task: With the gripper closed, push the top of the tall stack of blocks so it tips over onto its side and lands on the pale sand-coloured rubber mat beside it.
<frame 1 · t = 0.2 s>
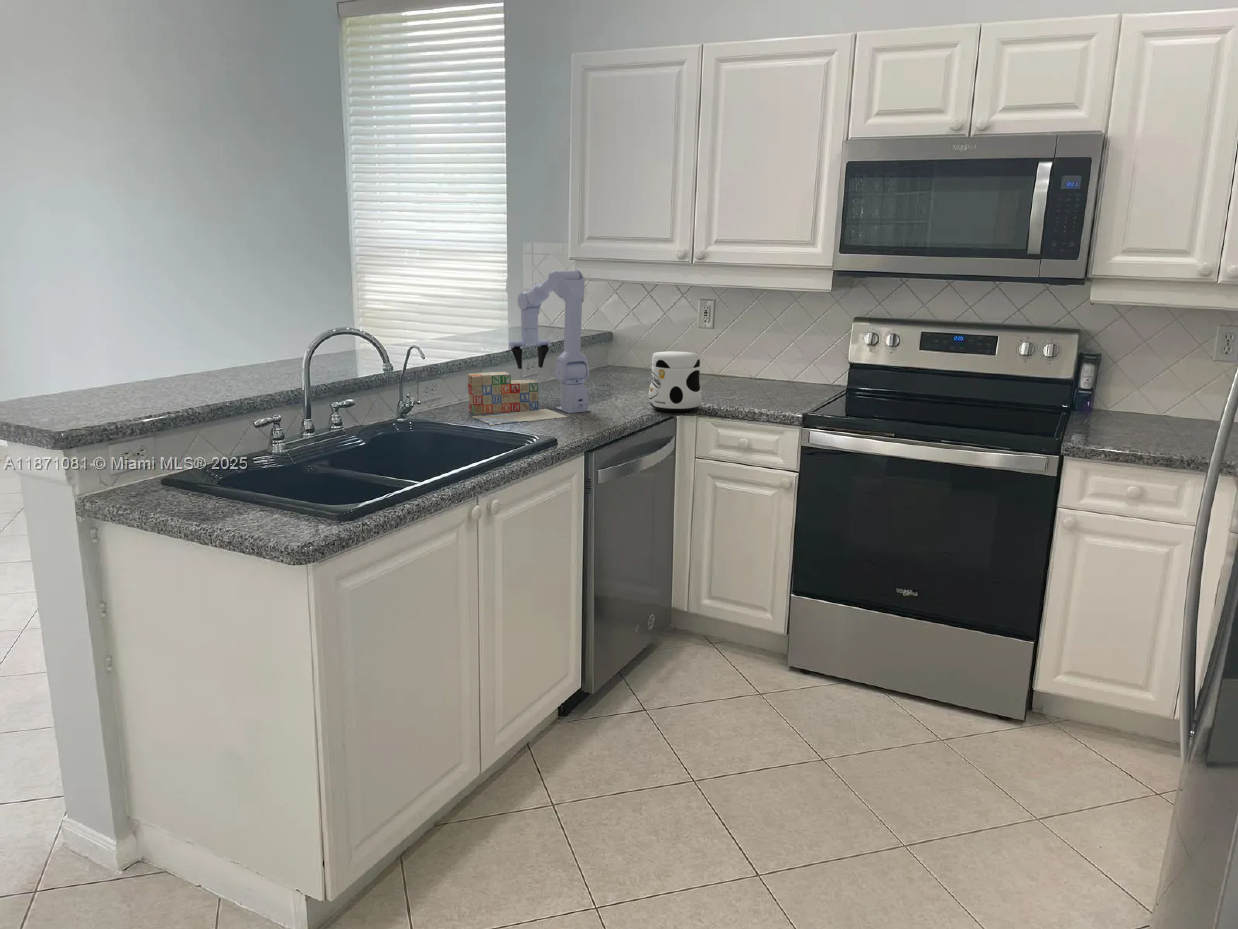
hand: (530, 367, 310), 10 cm above the countertop, tool pointing down, fingers open, 7 cm apart
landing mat: (519, 417, 279), on the countertop
milk container: (674, 409, 294), on the countertop
stack of blocks: (503, 411, 289), on the countertop
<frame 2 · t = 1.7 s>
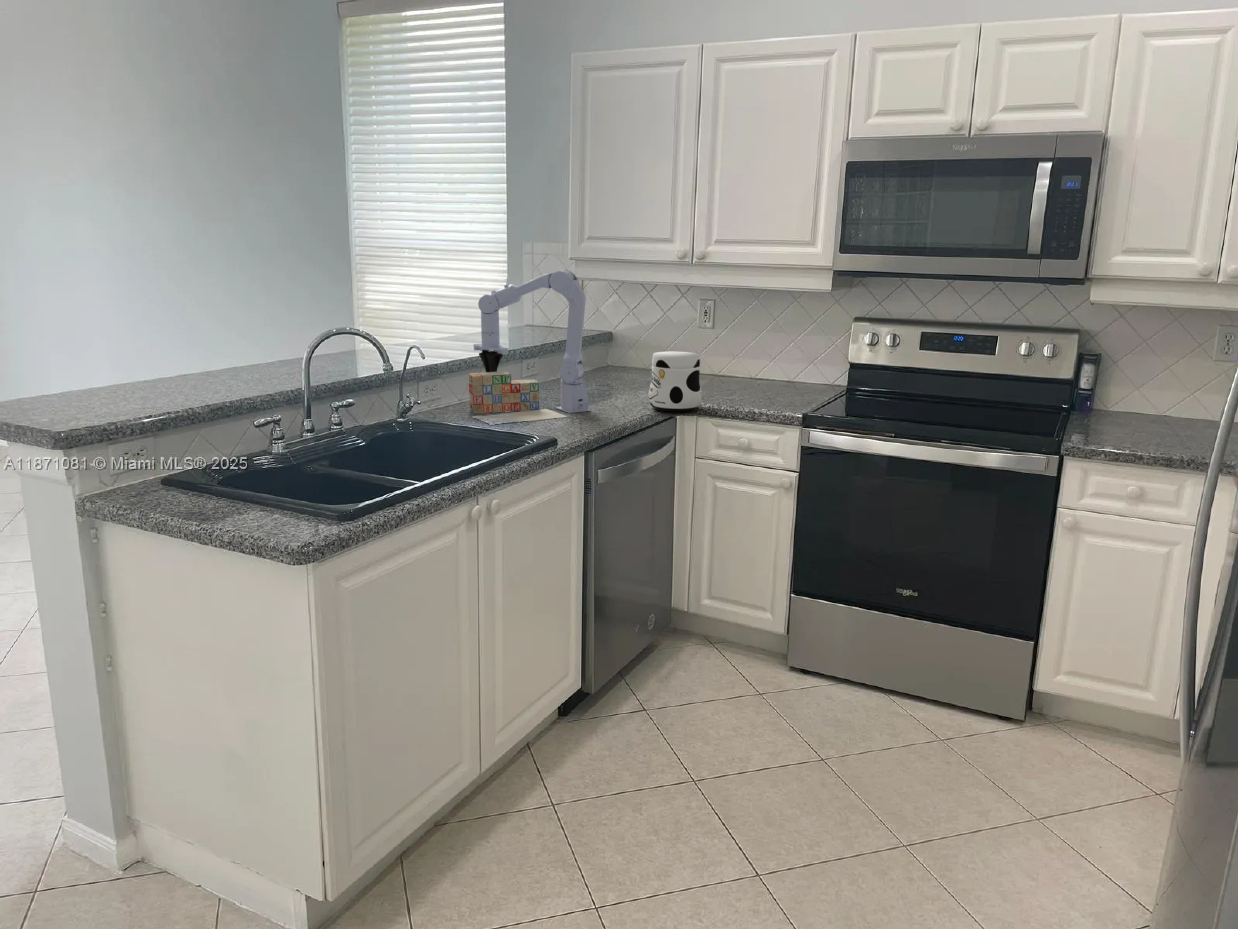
hand: (491, 374, 293), 10 cm above the countertop, tool pointing down, fingers closed
nothing on the countertop moved.
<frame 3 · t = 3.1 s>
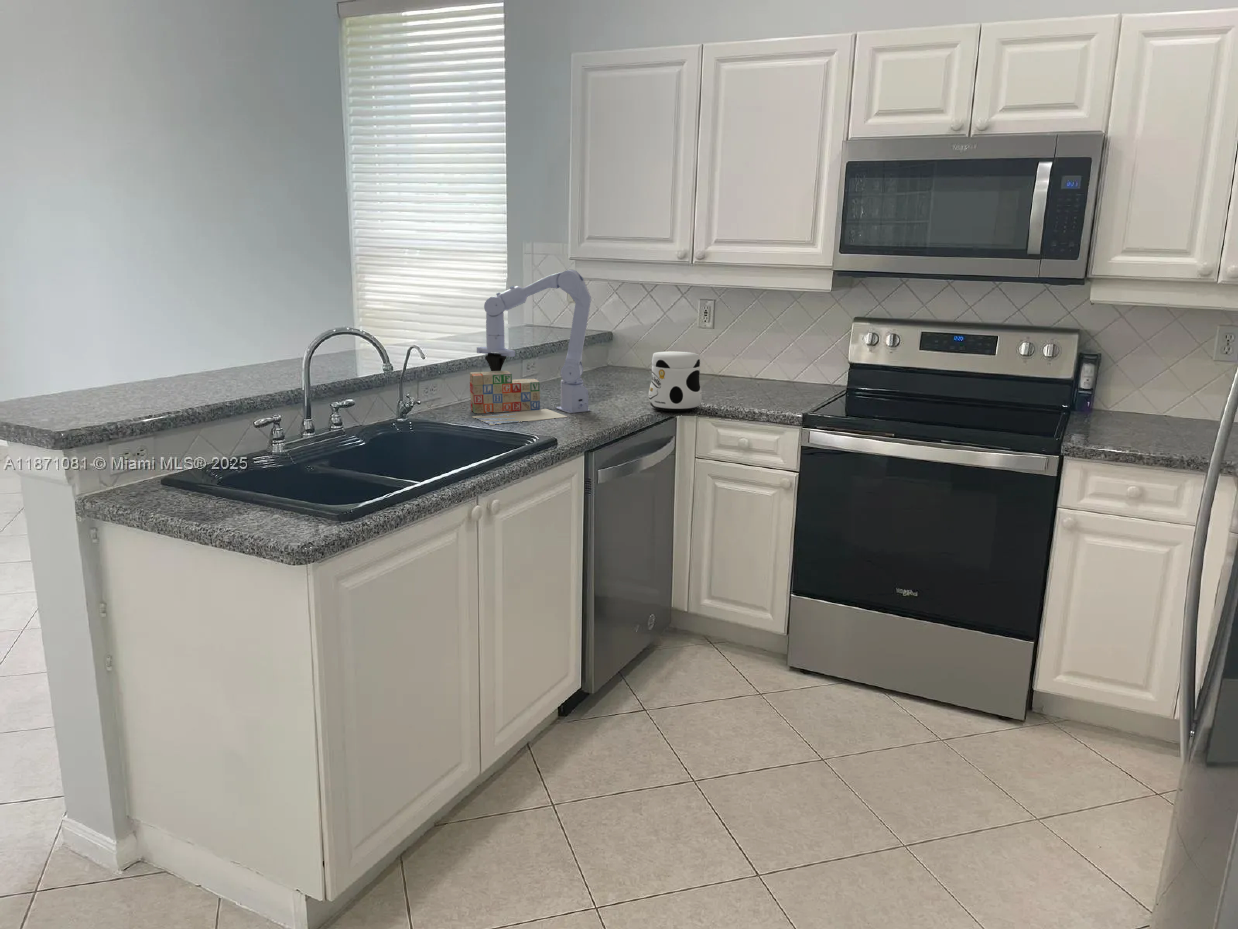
hand: (496, 377, 290), 10 cm above the countertop, tool pointing down, fingers closed
stack of blocks: (505, 410, 289), on the countertop, touching gripper
everything else where it was.
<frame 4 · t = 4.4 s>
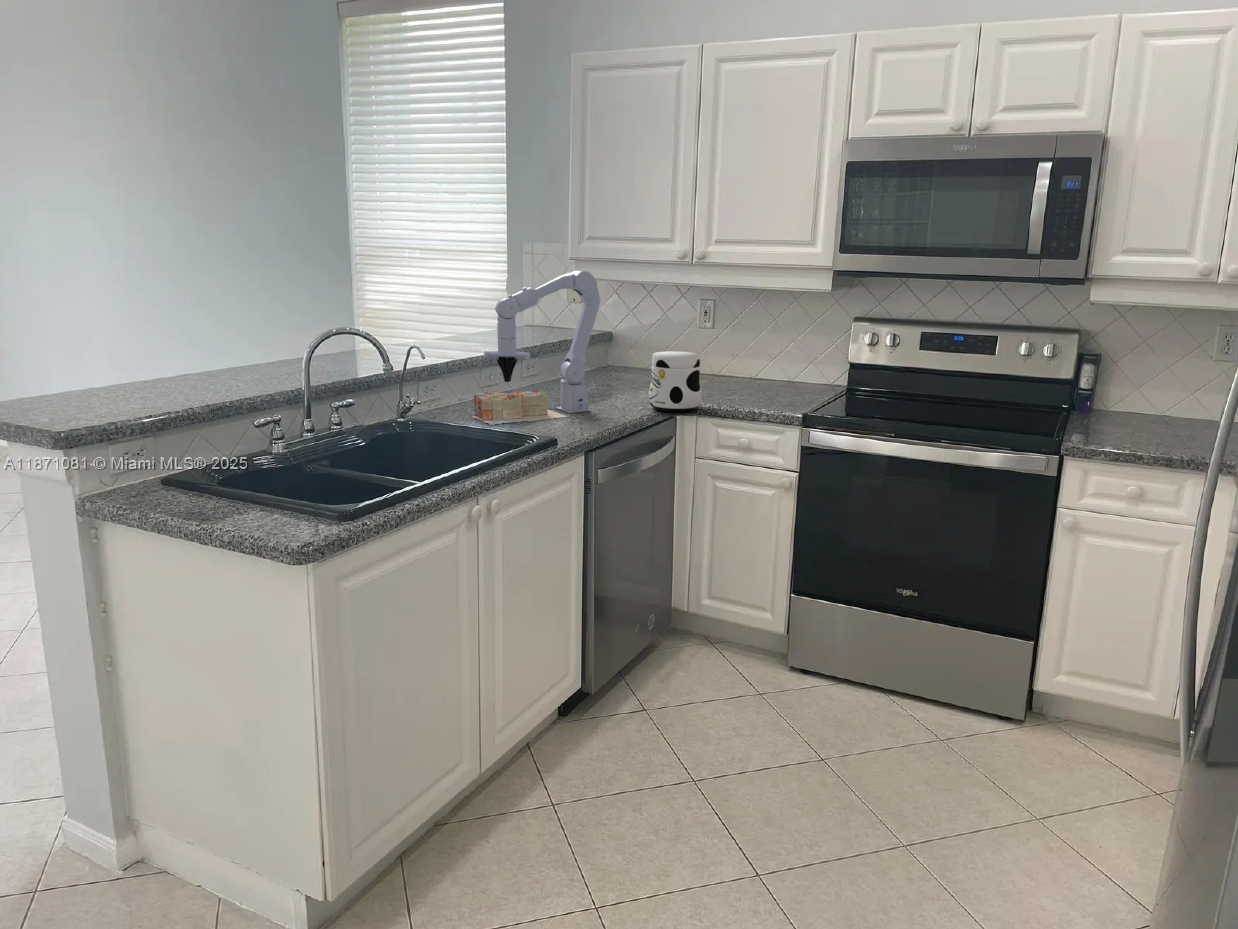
hand: (507, 381, 283), 10 cm above the countertop, tool pointing down, fingers closed
stack of blocks: (507, 401, 285), point 3 cm above the countertop, touching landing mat
everything else where it was.
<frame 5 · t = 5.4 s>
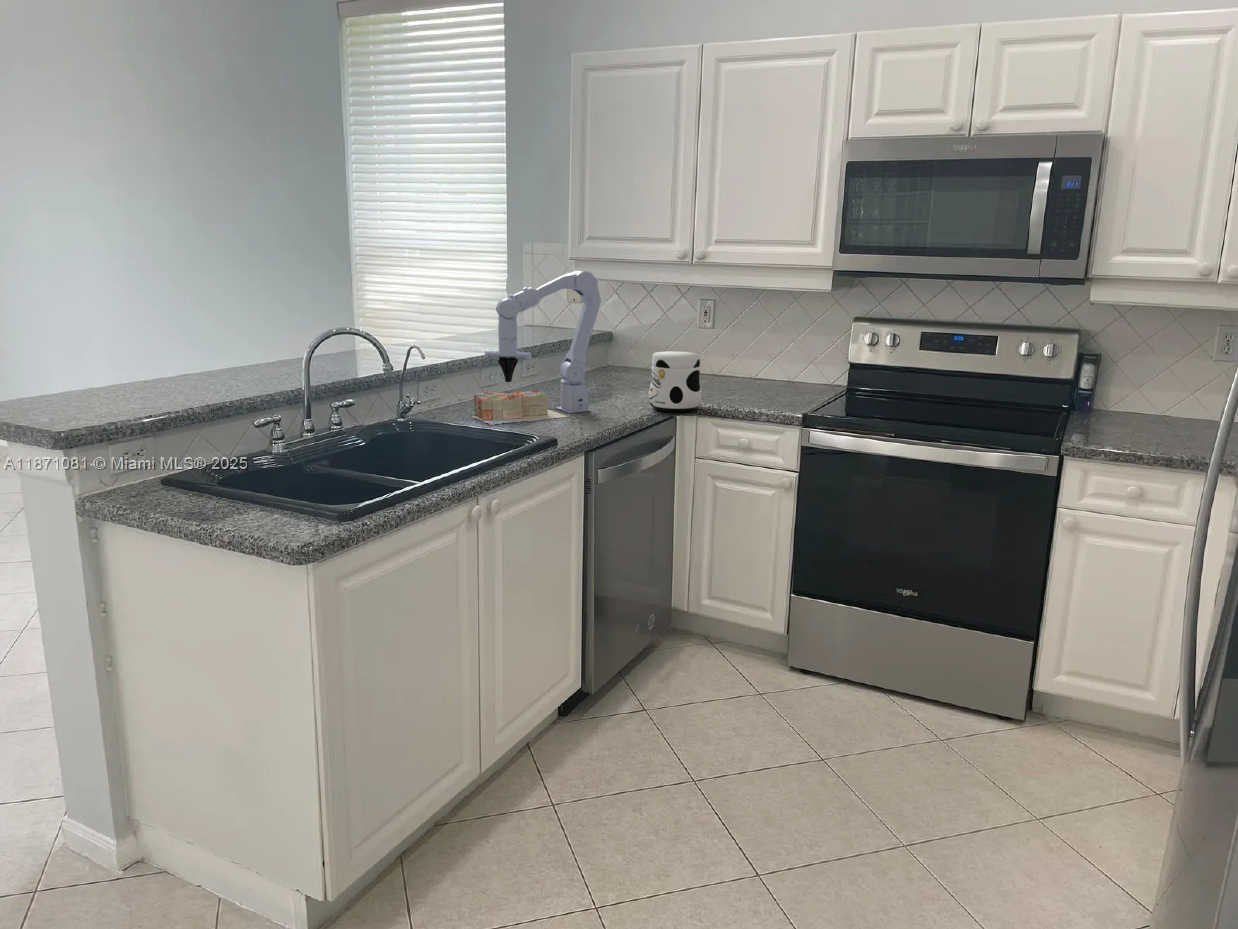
hand: (508, 381, 282), 10 cm above the countertop, tool pointing down, fingers closed
nothing on the countertop moved.
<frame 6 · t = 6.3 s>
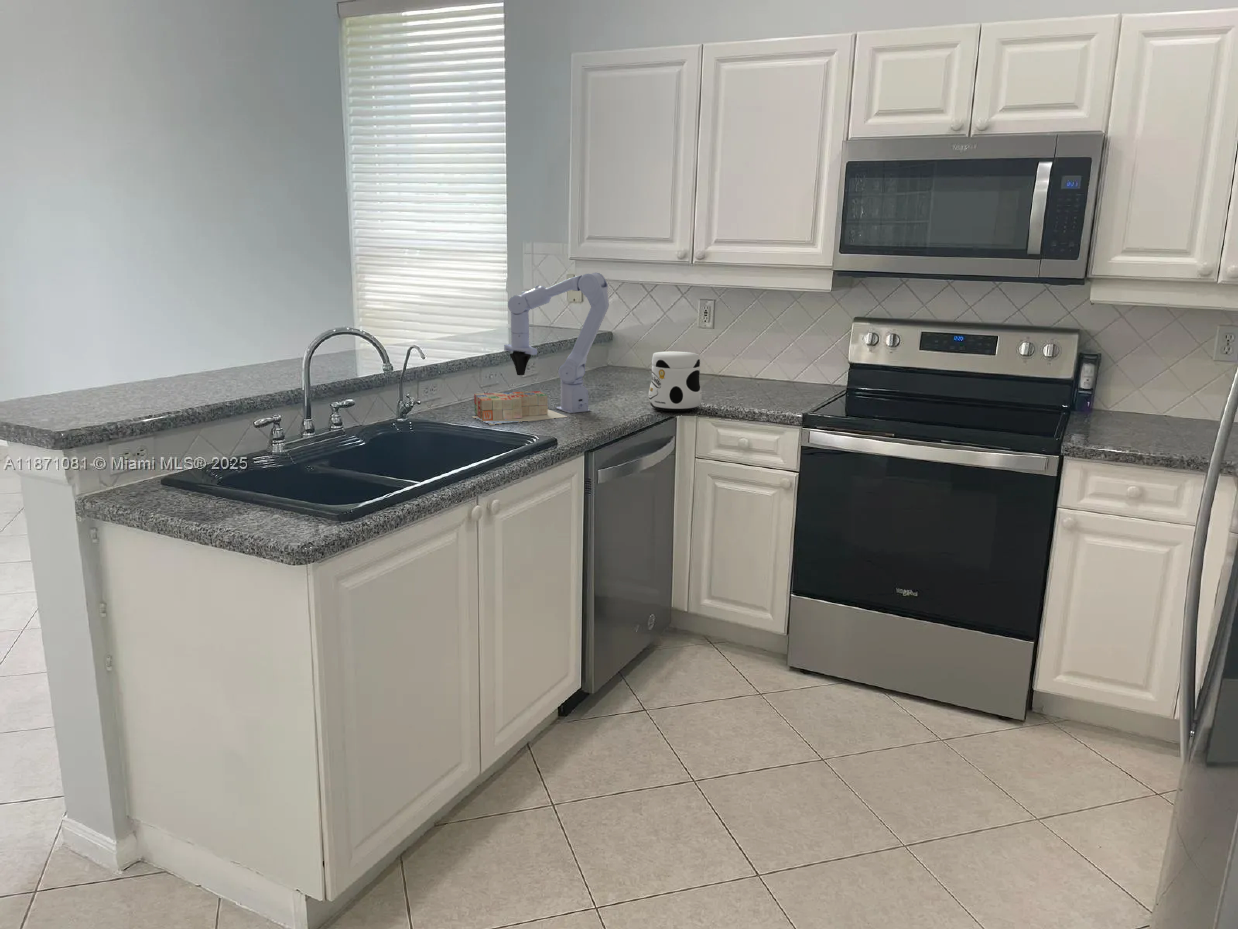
hand: (520, 374, 293), 10 cm above the countertop, tool pointing down, fingers closed
nothing on the countertop moved.
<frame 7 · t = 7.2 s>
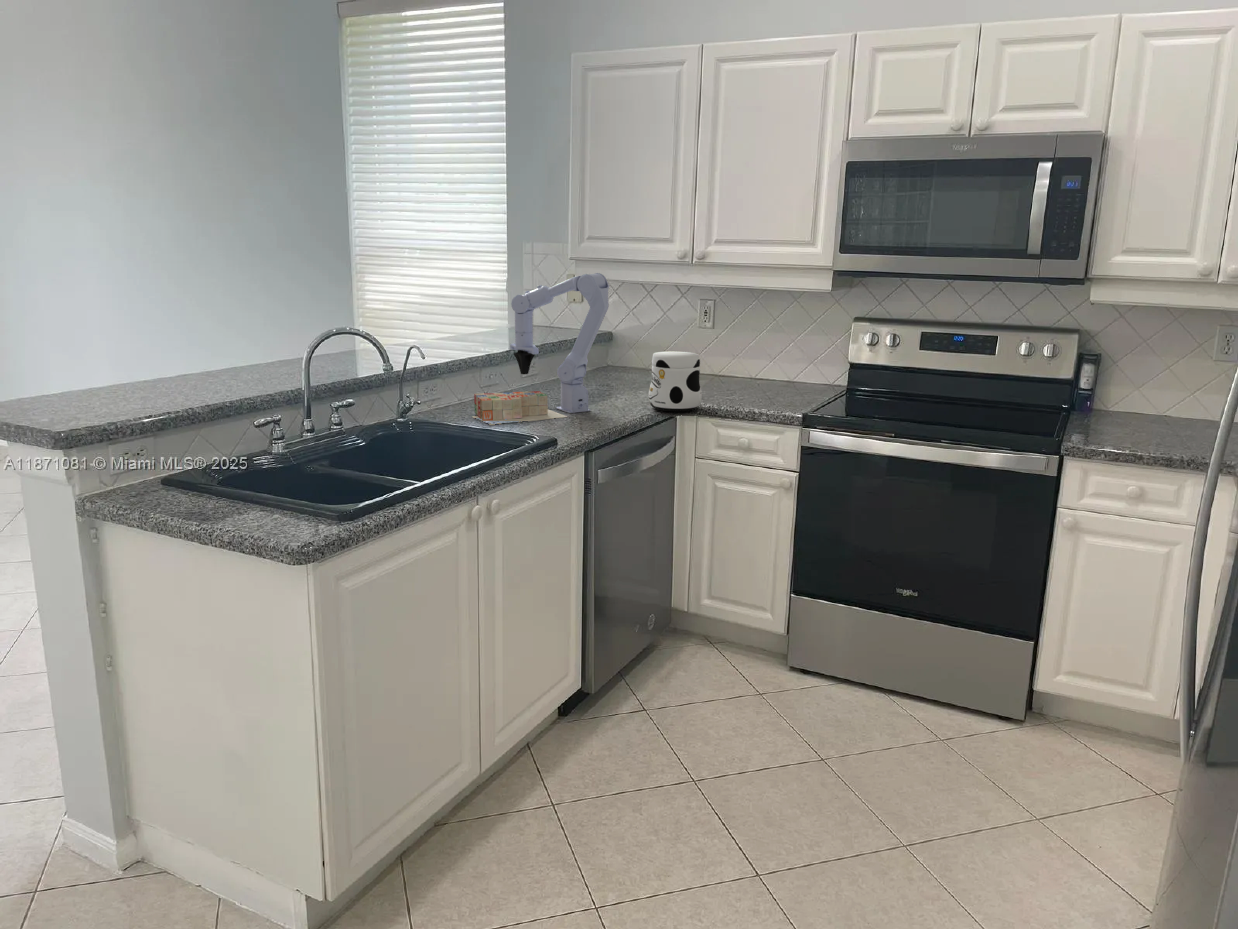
hand: (524, 373, 295), 10 cm above the countertop, tool pointing down, fingers closed
nothing on the countertop moved.
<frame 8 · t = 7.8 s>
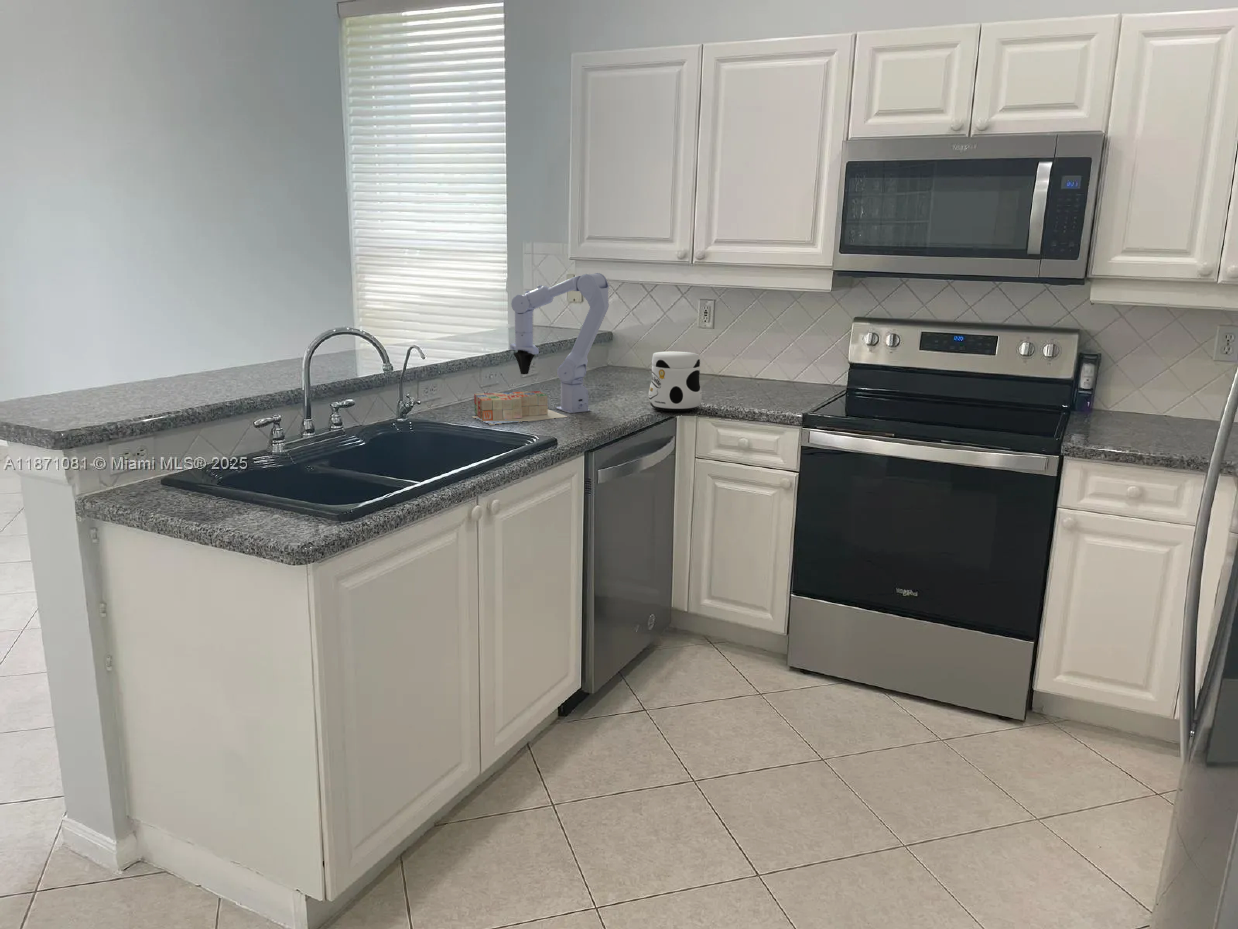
hand: (524, 373, 295), 10 cm above the countertop, tool pointing down, fingers closed
nothing on the countertop moved.
at the end: stack of blocks tilted 90°; stack of blocks inside the target area (0.4 cm from its centre), point 3.3 cm above the countertop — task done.
